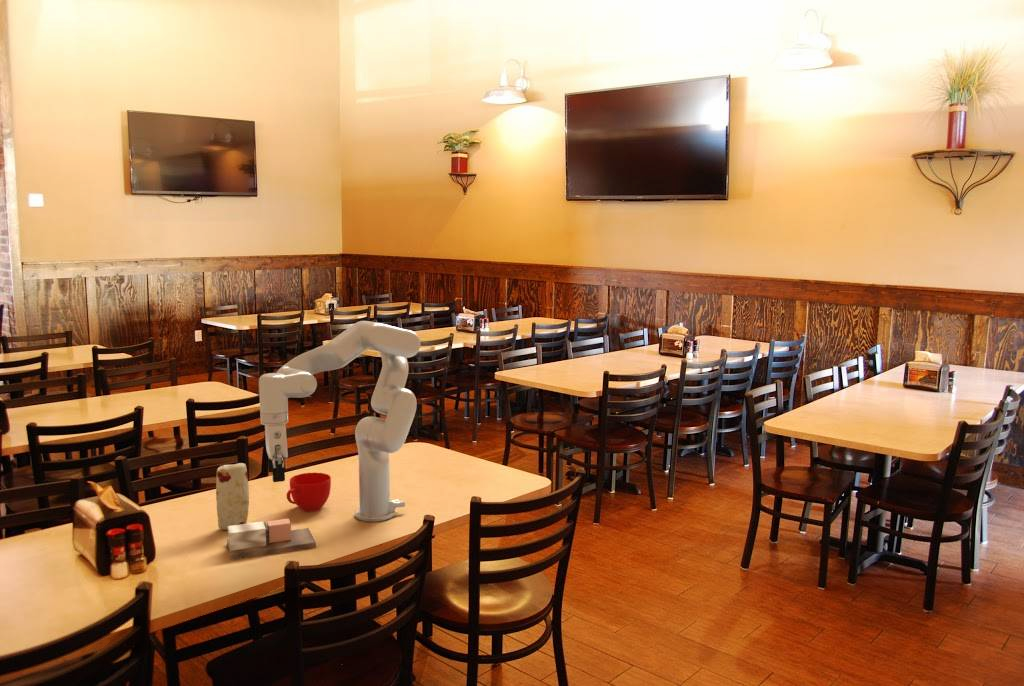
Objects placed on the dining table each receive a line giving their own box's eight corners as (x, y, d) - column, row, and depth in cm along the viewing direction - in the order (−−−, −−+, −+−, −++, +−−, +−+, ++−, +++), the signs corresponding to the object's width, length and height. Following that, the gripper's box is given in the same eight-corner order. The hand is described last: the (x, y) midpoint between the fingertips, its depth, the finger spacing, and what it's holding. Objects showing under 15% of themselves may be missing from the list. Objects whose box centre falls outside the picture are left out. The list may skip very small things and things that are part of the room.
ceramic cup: (272, 514, 257) (271, 484, 256) (309, 499, 272) (308, 470, 270) (304, 521, 251) (303, 490, 250) (339, 505, 266) (339, 476, 264)
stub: (289, 535, 236) (288, 518, 235) (291, 539, 232) (290, 523, 231) (267, 538, 233) (267, 521, 233) (269, 542, 230) (268, 526, 229)
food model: (222, 534, 240) (219, 469, 237) (213, 528, 245) (210, 464, 242) (254, 526, 247) (251, 462, 244) (244, 520, 252) (241, 458, 249)
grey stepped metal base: (308, 532, 242) (307, 511, 241) (315, 547, 231) (315, 525, 230) (227, 544, 233) (226, 522, 232) (230, 560, 222) (229, 537, 221)
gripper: (292, 423, 221) (294, 483, 224) (283, 409, 237) (285, 466, 239) (264, 425, 218) (266, 487, 221) (257, 412, 234) (259, 469, 237)
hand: (276, 476), depth 230 cm, fingers open, 9 cm apart
